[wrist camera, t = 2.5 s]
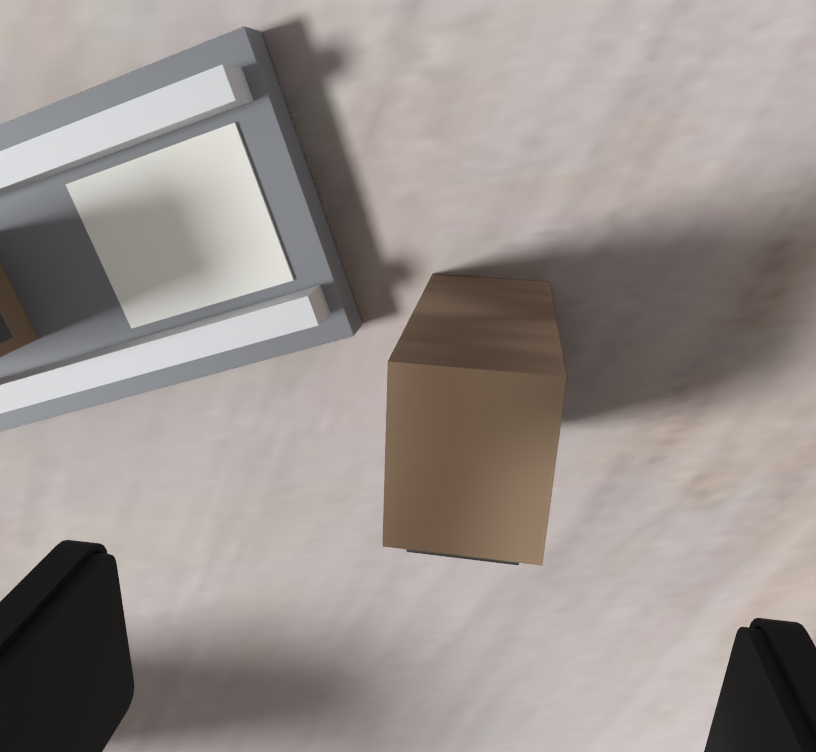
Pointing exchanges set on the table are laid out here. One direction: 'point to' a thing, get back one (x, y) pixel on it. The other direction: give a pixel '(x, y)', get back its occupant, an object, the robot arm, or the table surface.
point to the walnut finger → (474, 421)
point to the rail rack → (160, 234)
